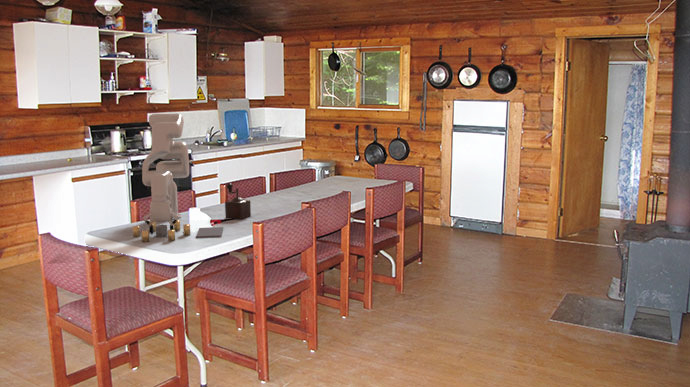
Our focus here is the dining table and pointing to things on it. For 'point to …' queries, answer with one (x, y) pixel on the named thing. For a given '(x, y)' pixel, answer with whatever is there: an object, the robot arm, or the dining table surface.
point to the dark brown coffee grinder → (237, 206)
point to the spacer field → (146, 233)
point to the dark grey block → (161, 231)
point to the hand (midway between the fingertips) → (161, 233)
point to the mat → (209, 232)
